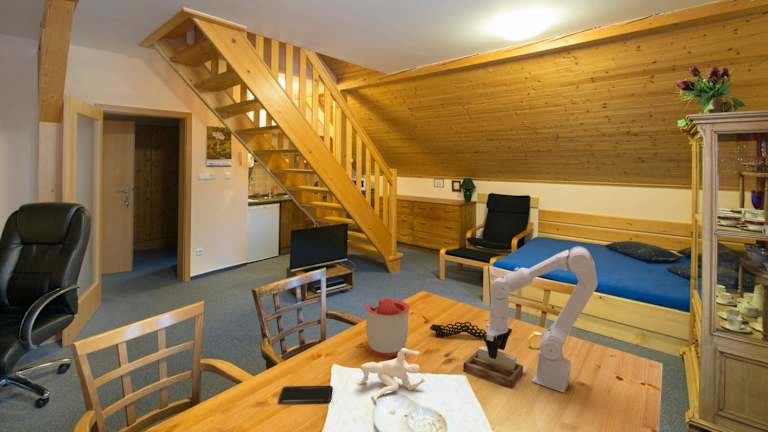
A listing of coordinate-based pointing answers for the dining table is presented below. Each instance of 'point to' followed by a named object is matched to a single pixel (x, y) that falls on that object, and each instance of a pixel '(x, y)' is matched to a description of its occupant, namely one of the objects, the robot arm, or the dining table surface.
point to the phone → (306, 395)
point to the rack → (492, 371)
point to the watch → (531, 337)
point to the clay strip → (498, 358)
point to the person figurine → (392, 372)
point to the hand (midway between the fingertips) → (496, 353)
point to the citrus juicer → (387, 327)
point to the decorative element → (443, 333)
